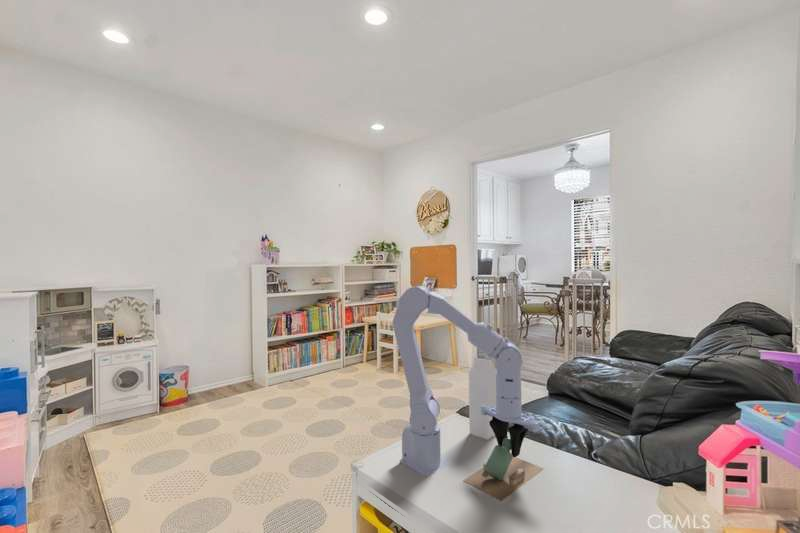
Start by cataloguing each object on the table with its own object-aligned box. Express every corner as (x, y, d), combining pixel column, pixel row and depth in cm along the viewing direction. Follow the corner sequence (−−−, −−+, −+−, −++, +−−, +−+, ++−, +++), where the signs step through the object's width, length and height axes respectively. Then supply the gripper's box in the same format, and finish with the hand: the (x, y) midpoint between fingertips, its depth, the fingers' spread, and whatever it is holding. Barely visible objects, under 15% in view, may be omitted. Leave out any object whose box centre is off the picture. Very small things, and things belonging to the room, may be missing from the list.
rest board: (462, 483, 84) (462, 472, 84) (506, 455, 96) (506, 446, 96) (501, 503, 77) (501, 492, 77) (543, 471, 89) (543, 460, 89)
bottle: (480, 464, 84) (499, 429, 89) (487, 476, 86) (505, 440, 91) (497, 472, 81) (515, 435, 86) (504, 484, 83) (522, 447, 88)
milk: (487, 442, 104) (486, 362, 104) (469, 435, 108) (468, 359, 108) (498, 434, 108) (497, 358, 108) (480, 428, 112) (479, 355, 112)
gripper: (546, 398, 85) (547, 458, 85) (492, 384, 96) (493, 437, 96) (530, 406, 81) (531, 469, 81) (475, 390, 91) (476, 446, 91)
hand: (509, 452), depth 88 cm, fingers closed on bottle, 3 cm apart
